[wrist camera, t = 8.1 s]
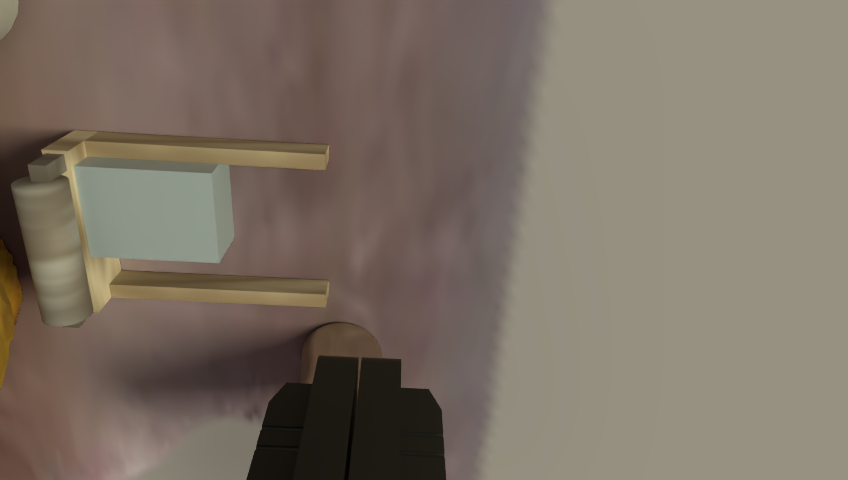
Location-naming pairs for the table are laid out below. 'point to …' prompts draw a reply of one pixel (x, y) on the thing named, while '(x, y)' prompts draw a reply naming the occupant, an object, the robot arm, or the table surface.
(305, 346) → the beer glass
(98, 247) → the pale teal block
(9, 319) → the pitcher
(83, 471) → the table surface
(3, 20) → the can
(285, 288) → the bay
